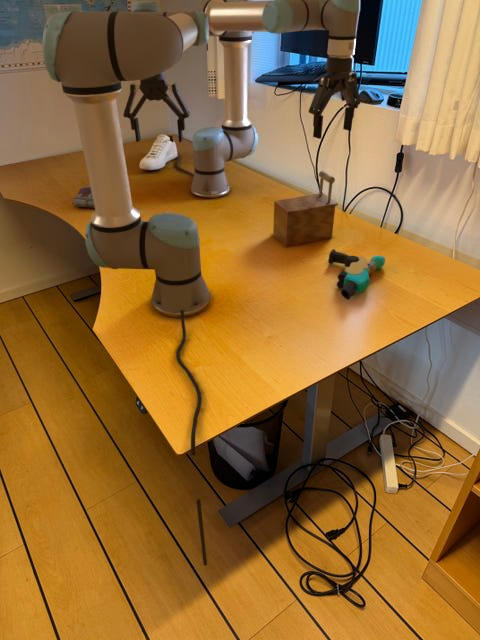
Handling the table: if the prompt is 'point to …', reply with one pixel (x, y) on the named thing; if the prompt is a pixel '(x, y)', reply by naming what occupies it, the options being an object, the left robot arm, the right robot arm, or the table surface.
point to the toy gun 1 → (84, 198)
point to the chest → (303, 225)
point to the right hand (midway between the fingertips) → (332, 133)
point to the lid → (309, 199)
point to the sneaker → (160, 153)
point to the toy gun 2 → (354, 272)
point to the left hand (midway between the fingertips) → (159, 140)
